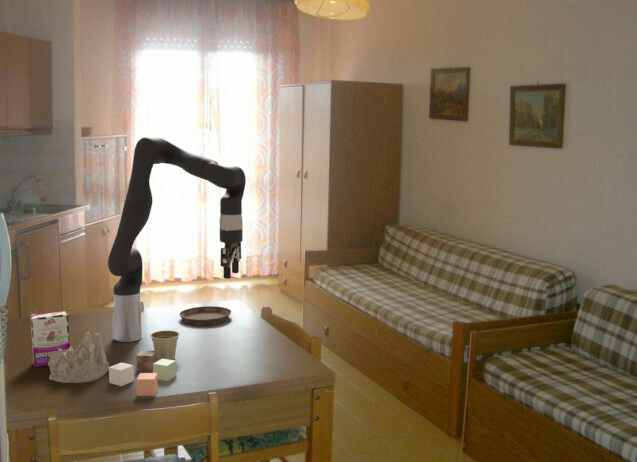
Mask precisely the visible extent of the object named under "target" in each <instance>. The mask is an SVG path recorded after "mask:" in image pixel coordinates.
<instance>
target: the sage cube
mask: <svg viewBox="0 0 637 462" xmlns="http://www.w3.org/2000/svg"><path fill="white" fill-rule="evenodd" d="M152 373H157V379H158V381H163V382H169V381H171V380H173V379H174V378H175V377H177V360H175V359H174V360H168V359H161V360H159V361H157V362H155V363H153V371H152Z"/></svg>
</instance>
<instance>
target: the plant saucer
mask: <svg viewBox="0 0 637 462" xmlns="http://www.w3.org/2000/svg"><path fill="white" fill-rule="evenodd" d="M231 314H232V310H231V309H229V308H226V307H224V306H223V307H222V306H213V305H212V306H207V305H206V306H197V307H190V308H187V309H184V310H181V311H180V312H179V316H180V318H181V319H182V321H184V323H187V324H190V325H194V326H211V325H216V324H220V323H223V322H225V321H226V320H227V319H228V318H229V317H230V315H231Z"/></svg>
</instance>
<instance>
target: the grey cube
mask: <svg viewBox="0 0 637 462" xmlns="http://www.w3.org/2000/svg"><path fill="white" fill-rule="evenodd" d="M134 370H135V369H134V364H129V363H125V362H119V363H117V364H113V365H111V366H110V367H109V371H108V376H109V377H108V378H109V381H108V382H109V384H113V385H116V386H119V387H123V386H126V385H127V384H130V383H133V382H134V381H135V380H134V379H135V377H134V376H135V371H134Z"/></svg>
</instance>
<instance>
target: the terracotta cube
mask: <svg viewBox="0 0 637 462" xmlns="http://www.w3.org/2000/svg"><path fill="white" fill-rule="evenodd" d="M158 381H159V380H158V379H157V373H153V372H140V373H139V374H138V376H137V379H136V395H137V397H147V396H149V397H150V396H156V394H157V391H158V389H159V383H158Z"/></svg>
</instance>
